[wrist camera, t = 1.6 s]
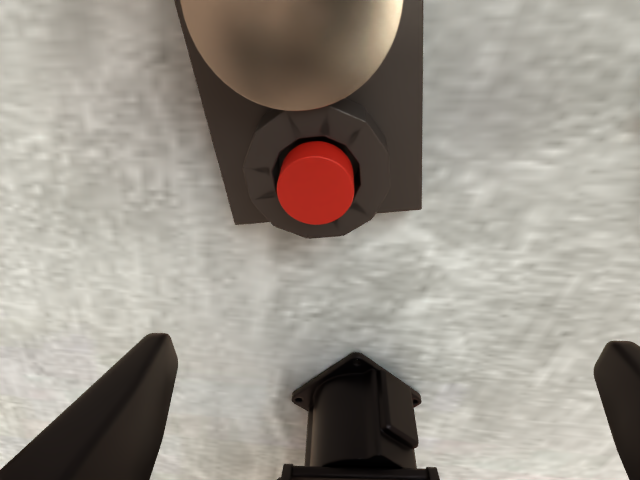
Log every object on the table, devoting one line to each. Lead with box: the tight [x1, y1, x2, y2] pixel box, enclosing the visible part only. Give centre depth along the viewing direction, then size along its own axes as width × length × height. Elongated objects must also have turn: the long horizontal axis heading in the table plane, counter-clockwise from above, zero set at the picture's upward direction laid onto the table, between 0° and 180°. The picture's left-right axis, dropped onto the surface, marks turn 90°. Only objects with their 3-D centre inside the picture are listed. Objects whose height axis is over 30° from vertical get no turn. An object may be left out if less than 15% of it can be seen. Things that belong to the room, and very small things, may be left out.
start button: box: [277, 141, 354, 225], centre depth 18 cm, size 3×3×2 cm
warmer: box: [174, 0, 423, 239], centre depth 17 cm, size 13×9×3 cm
